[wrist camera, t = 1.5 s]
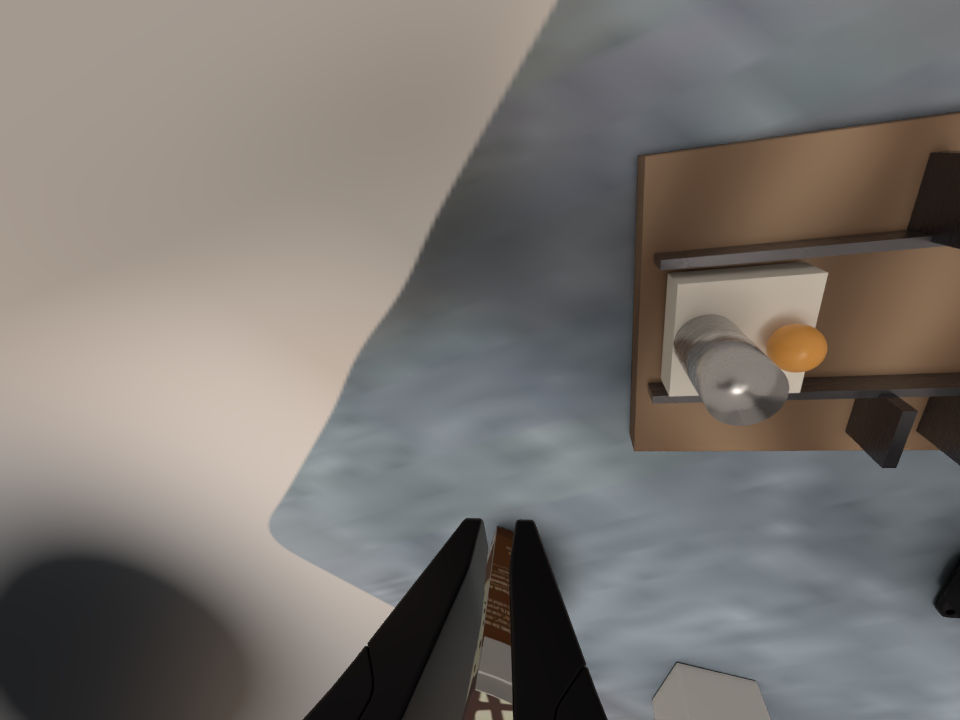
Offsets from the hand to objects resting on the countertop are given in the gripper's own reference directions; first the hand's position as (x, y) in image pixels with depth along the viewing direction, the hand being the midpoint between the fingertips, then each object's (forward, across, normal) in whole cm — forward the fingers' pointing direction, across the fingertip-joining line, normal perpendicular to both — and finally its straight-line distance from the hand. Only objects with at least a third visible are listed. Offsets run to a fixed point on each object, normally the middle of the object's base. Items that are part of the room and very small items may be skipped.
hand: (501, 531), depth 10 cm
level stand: (+13, -14, 0) cm, 19 cm away
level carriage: (+11, -9, 0) cm, 14 cm away
